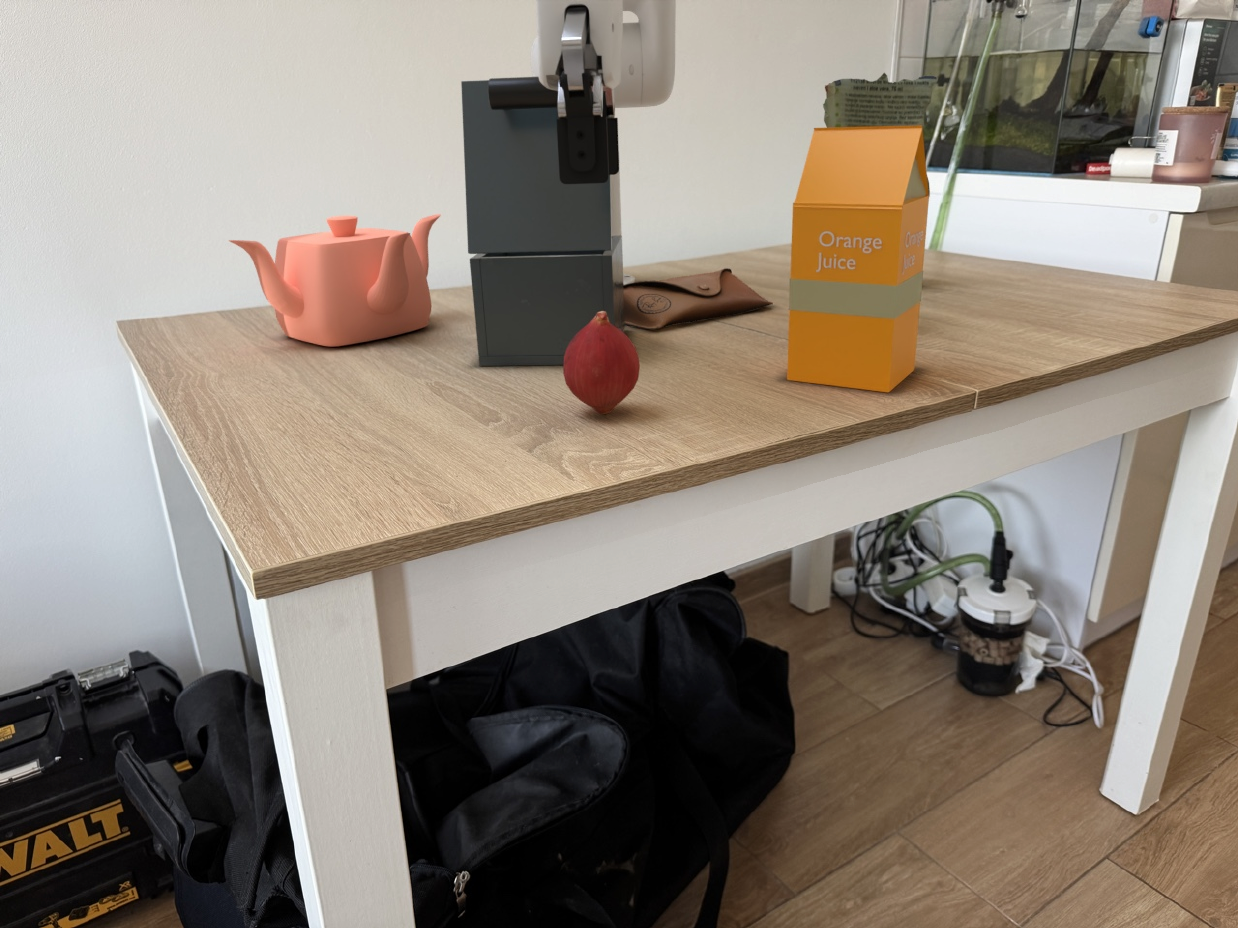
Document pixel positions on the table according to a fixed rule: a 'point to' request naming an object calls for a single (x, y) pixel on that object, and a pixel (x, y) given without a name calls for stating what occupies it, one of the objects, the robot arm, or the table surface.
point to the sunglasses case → (688, 299)
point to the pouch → (878, 102)
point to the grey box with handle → (524, 175)
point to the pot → (347, 282)
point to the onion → (601, 365)
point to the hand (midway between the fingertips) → (591, 178)
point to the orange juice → (858, 257)
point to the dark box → (542, 302)
